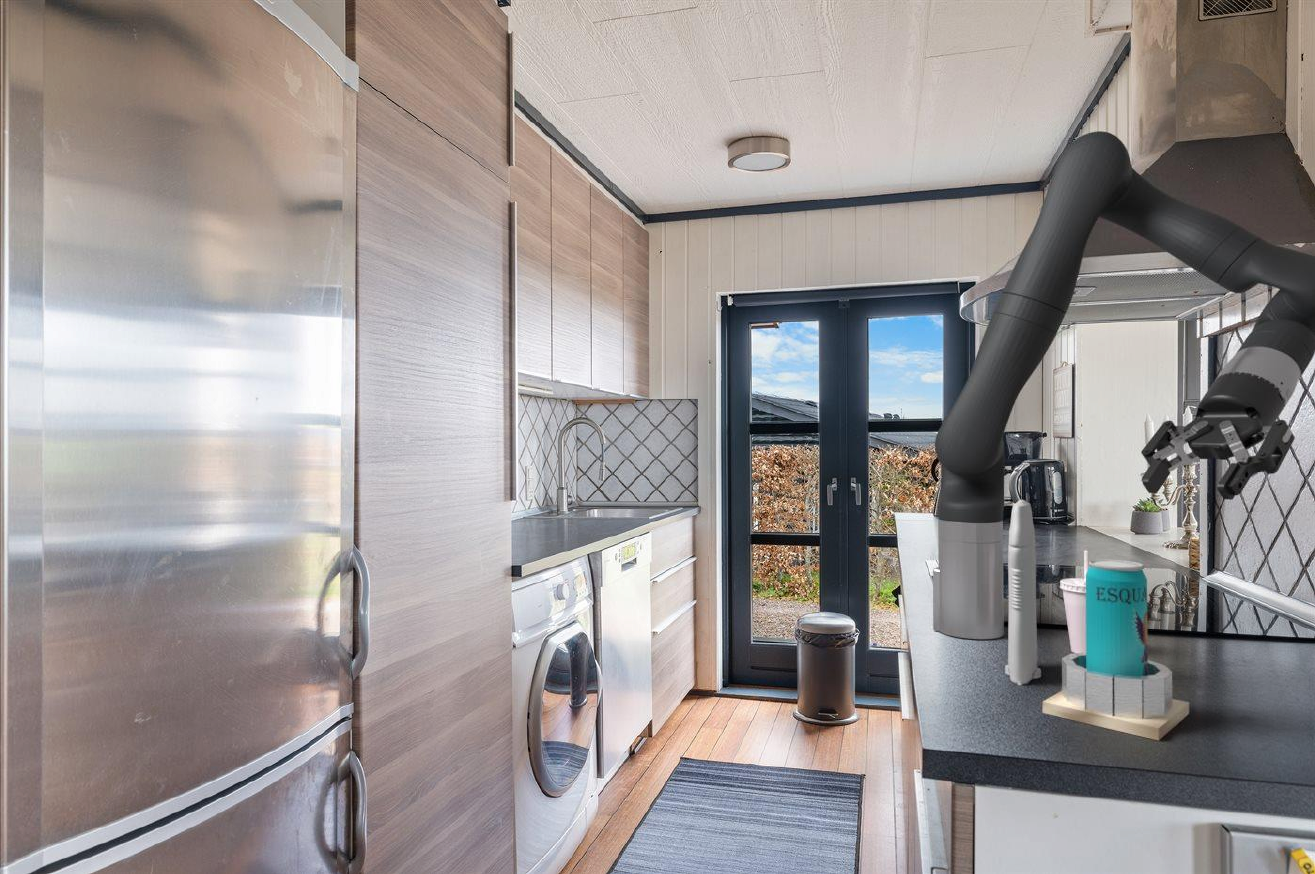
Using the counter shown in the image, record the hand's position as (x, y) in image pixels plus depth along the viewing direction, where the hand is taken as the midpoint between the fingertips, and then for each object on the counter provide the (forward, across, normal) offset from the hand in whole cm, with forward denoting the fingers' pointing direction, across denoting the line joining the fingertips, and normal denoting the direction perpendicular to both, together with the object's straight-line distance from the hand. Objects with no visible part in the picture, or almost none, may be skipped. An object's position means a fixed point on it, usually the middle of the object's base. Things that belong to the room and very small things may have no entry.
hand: (1184, 491), depth 90 cm
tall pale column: (+23, -14, +11) cm, 29 cm away
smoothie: (+12, -18, +22) cm, 31 cm away
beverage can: (+24, 0, +8) cm, 25 cm away
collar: (+24, 0, +8) cm, 25 cm away
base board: (+25, 0, +9) cm, 26 cm away
